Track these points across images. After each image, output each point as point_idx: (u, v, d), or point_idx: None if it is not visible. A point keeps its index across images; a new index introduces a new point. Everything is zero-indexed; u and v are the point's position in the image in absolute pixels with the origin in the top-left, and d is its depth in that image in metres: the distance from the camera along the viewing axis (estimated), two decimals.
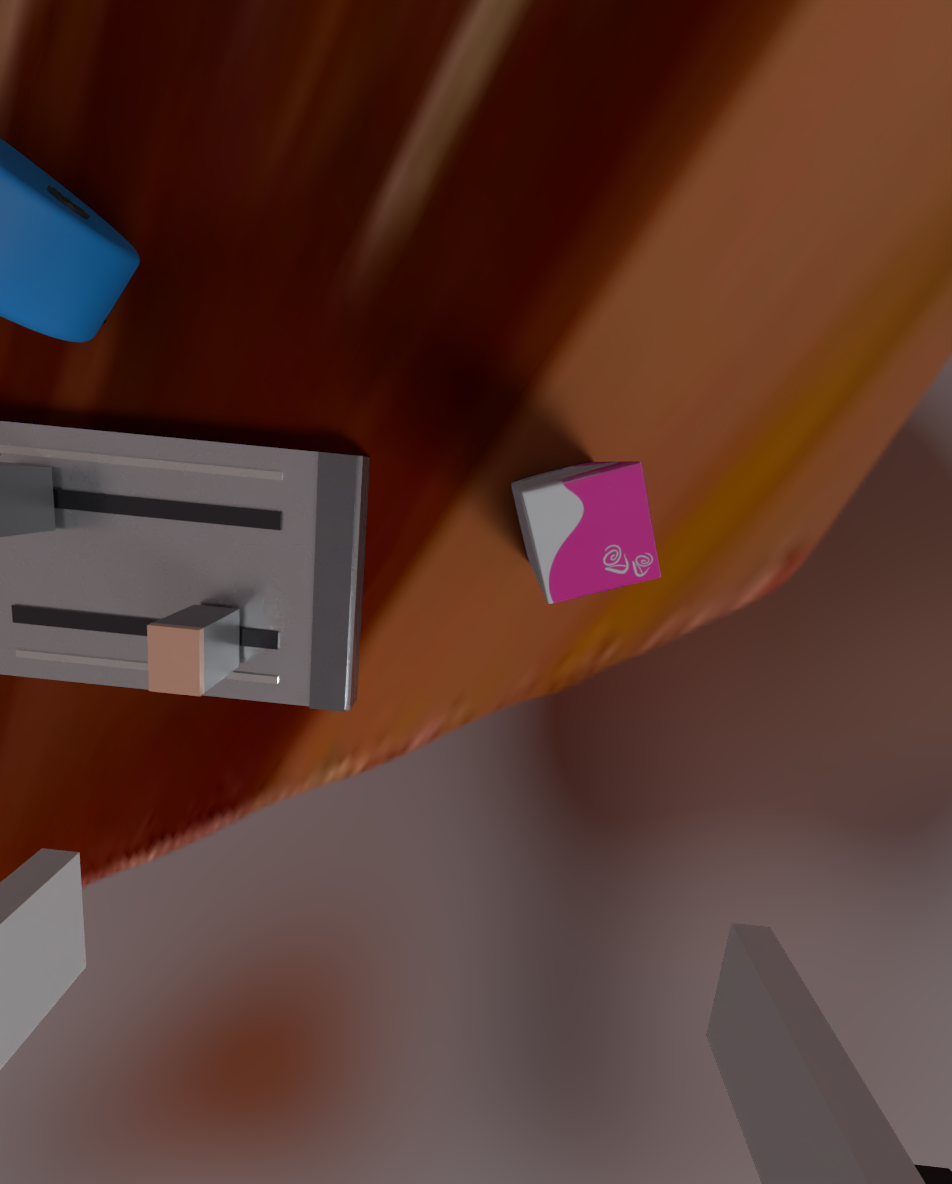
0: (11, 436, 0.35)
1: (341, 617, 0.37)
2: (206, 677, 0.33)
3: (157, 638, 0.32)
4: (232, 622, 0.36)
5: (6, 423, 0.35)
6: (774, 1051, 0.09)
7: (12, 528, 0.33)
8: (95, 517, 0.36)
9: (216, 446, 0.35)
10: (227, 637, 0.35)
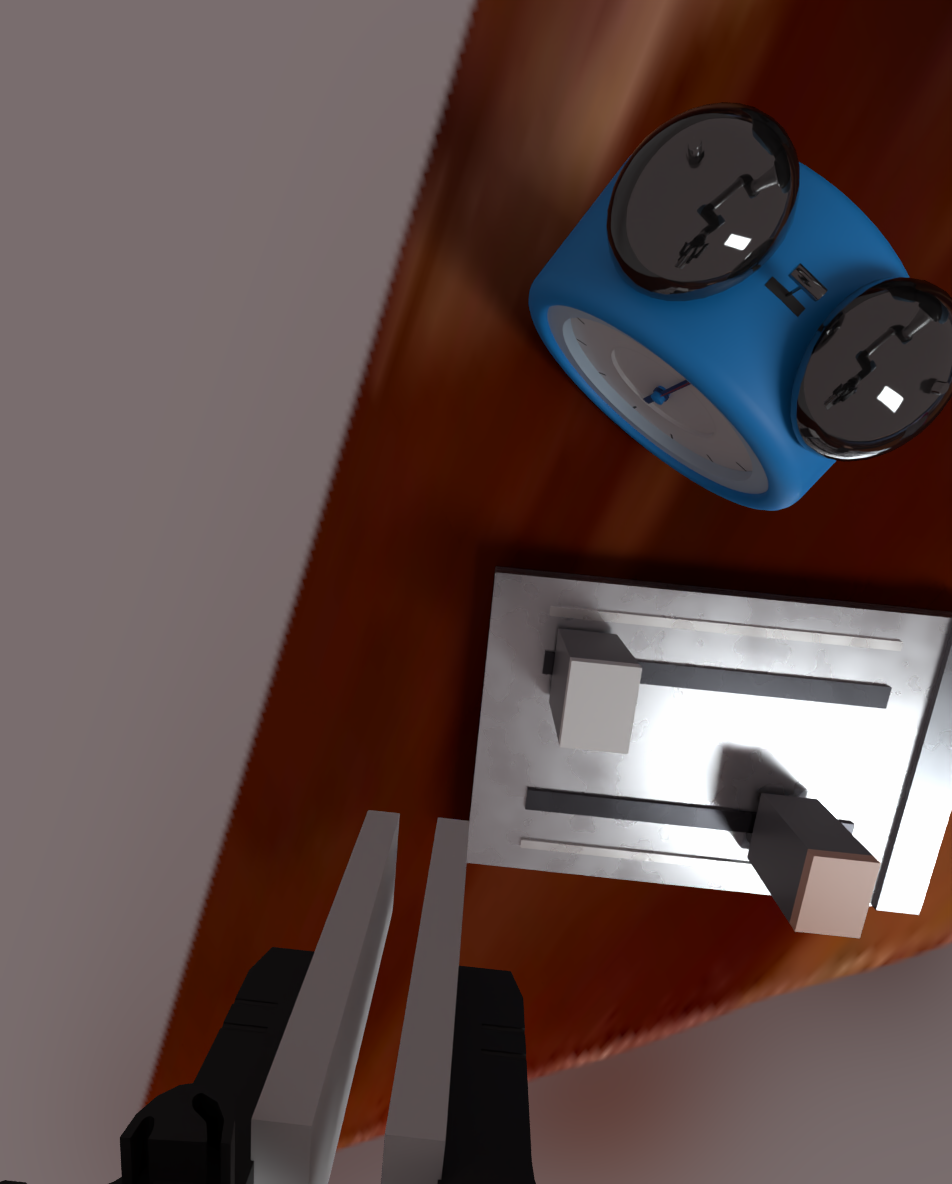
0: (565, 596, 0.29)
1: (940, 809, 0.30)
2: None
3: (823, 871, 0.25)
4: None
5: (562, 581, 0.29)
6: None
7: None
8: (652, 690, 0.30)
9: (823, 610, 0.28)
10: None
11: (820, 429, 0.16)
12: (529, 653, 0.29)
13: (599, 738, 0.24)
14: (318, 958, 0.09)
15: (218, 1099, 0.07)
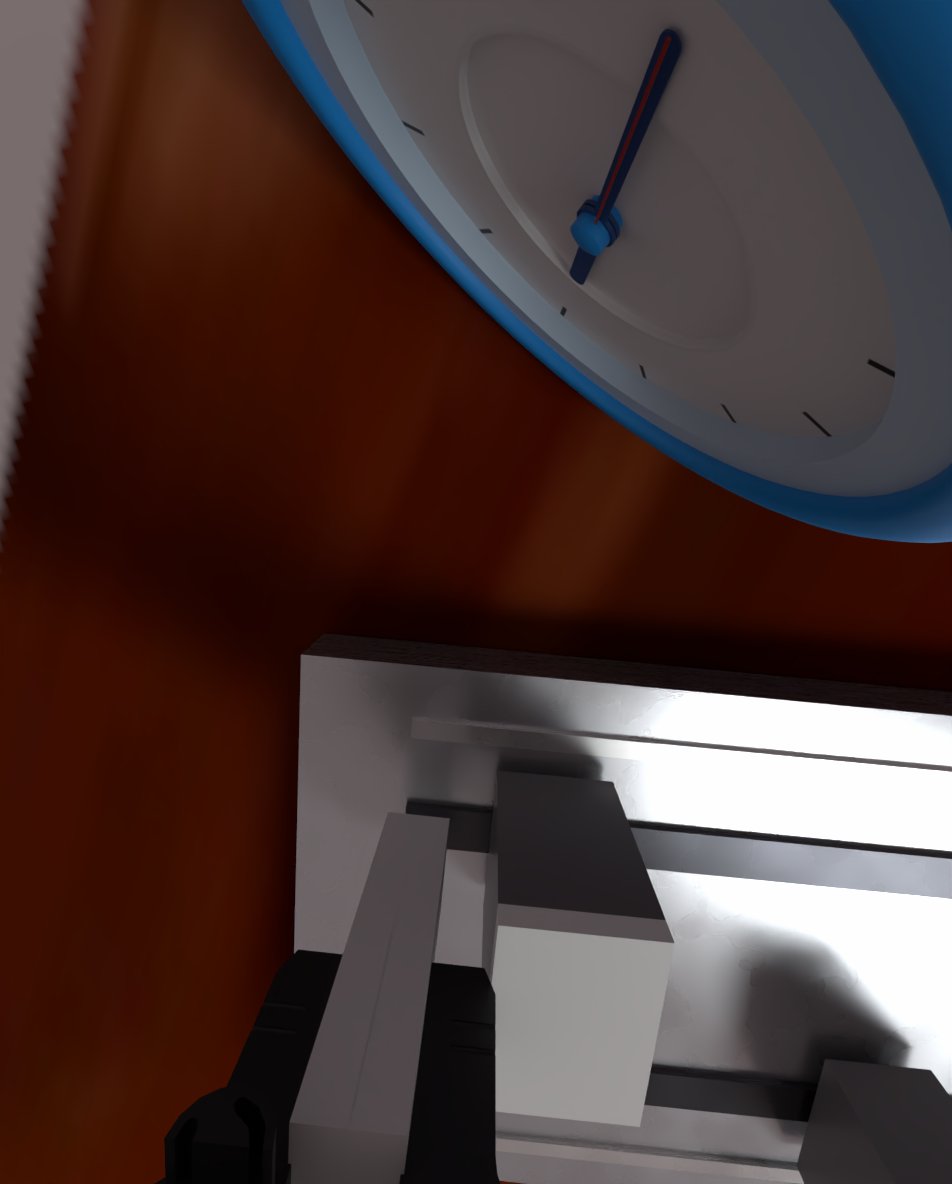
0: (441, 700, 0.15)
1: None
2: None
3: None
4: None
5: (434, 671, 0.14)
6: None
7: None
8: None
9: None
10: None
11: None
12: (377, 806, 0.15)
13: (572, 1093, 0.10)
14: (346, 961, 0.09)
15: (259, 1104, 0.07)
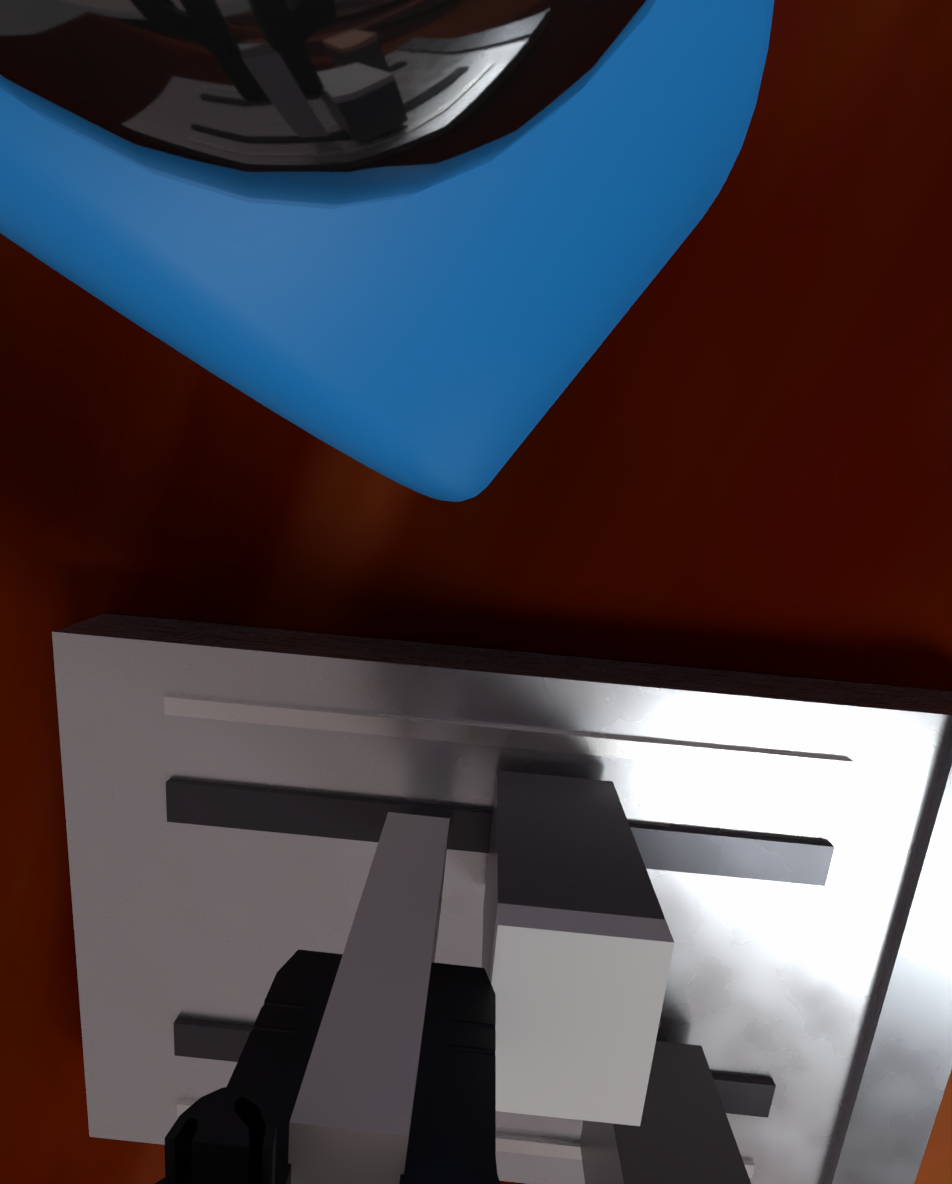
0: (193, 676, 0.15)
1: (933, 1064, 0.16)
2: None
3: None
4: None
5: (183, 648, 0.15)
6: None
7: None
8: None
9: (695, 701, 0.14)
10: None
11: None
12: (141, 783, 0.15)
13: (572, 1092, 0.10)
14: (346, 961, 0.09)
15: (259, 1104, 0.07)
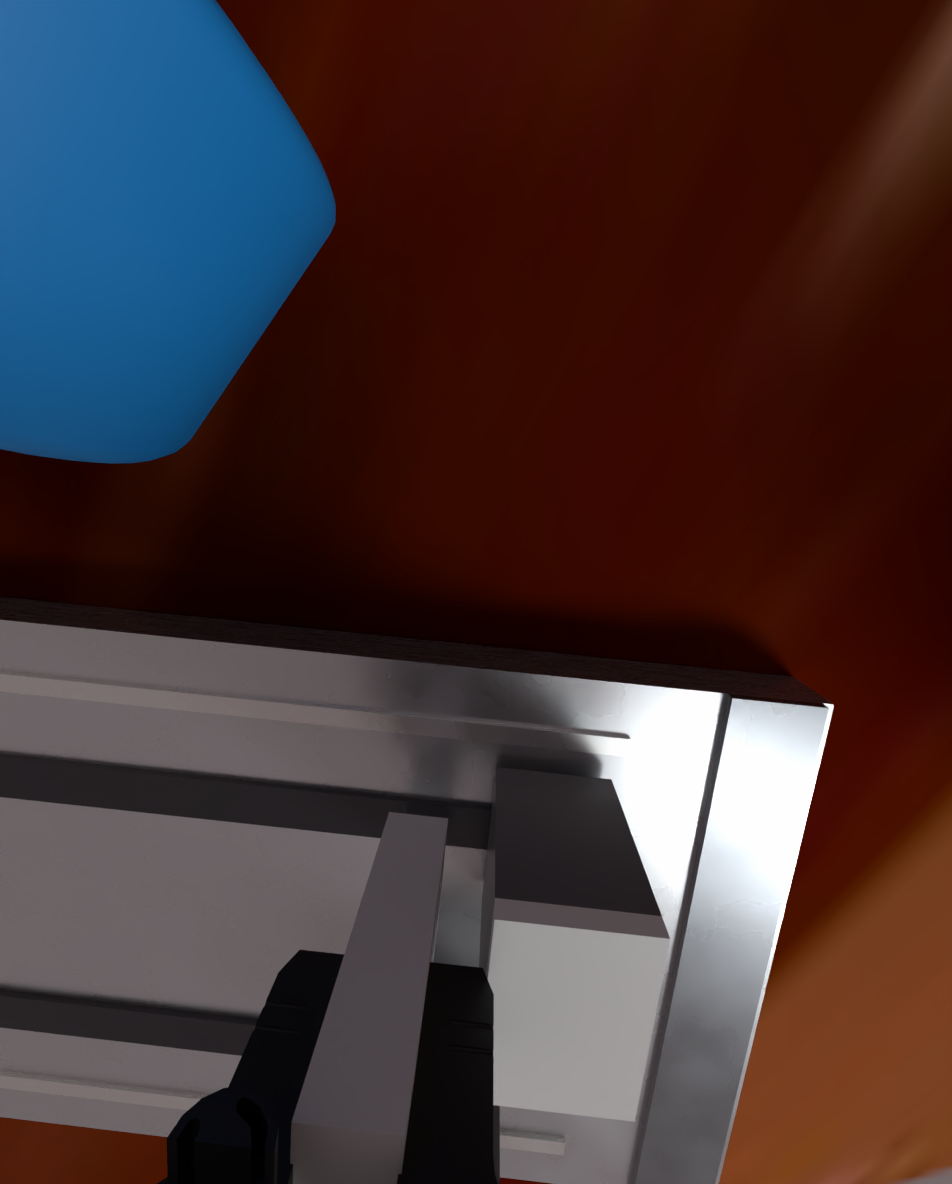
0: None
1: (730, 1042, 0.16)
2: None
3: None
4: None
5: None
6: None
7: None
8: (177, 824, 0.16)
9: (473, 677, 0.15)
10: None
11: None
12: None
13: (566, 1087, 0.10)
14: (348, 961, 0.09)
15: (262, 1104, 0.07)
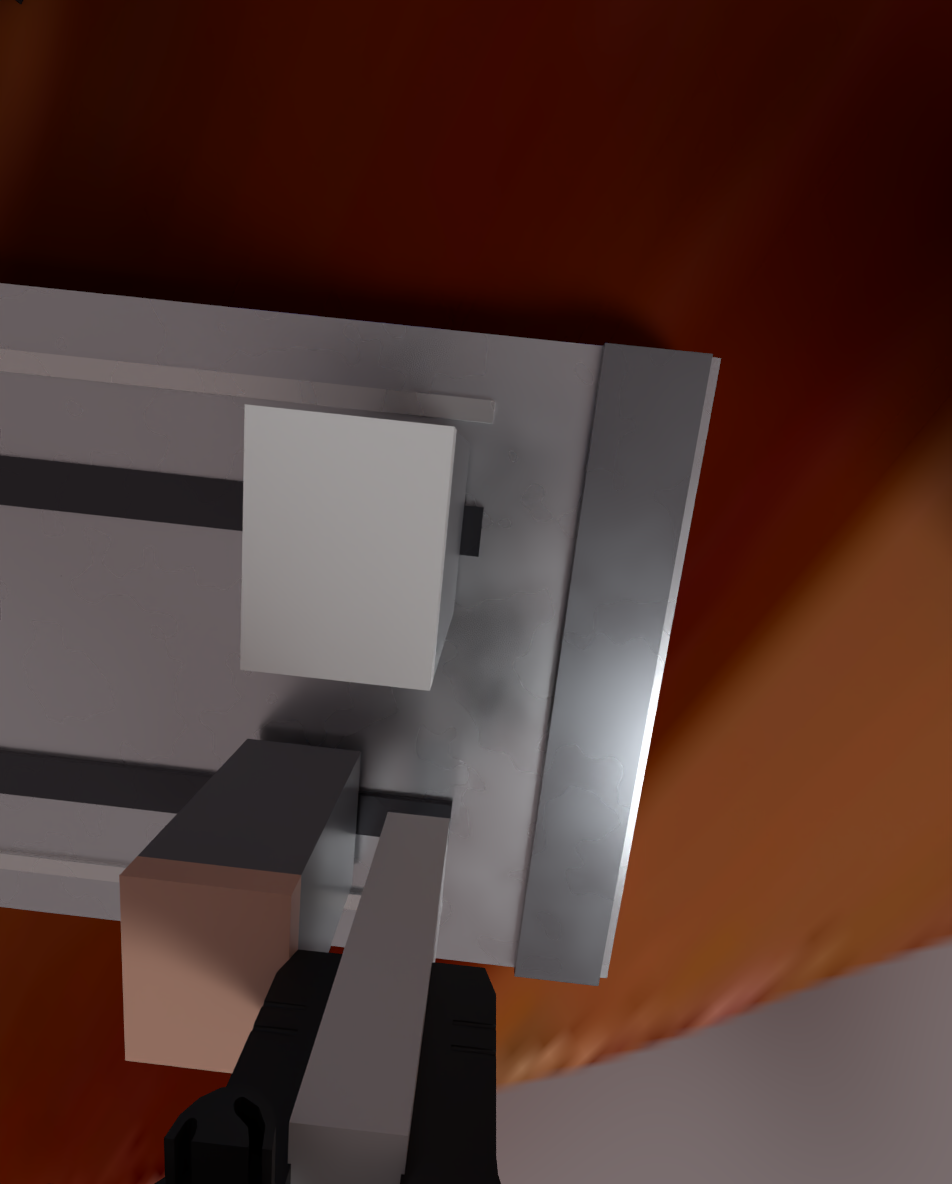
0: None
1: (615, 776, 0.15)
2: None
3: (153, 915, 0.10)
4: (350, 795, 0.14)
5: None
6: None
7: (443, 632, 0.10)
8: None
9: (319, 329, 0.13)
10: (341, 840, 0.13)
11: None
12: None
13: (347, 644, 0.09)
14: (346, 961, 0.09)
15: (259, 1103, 0.07)
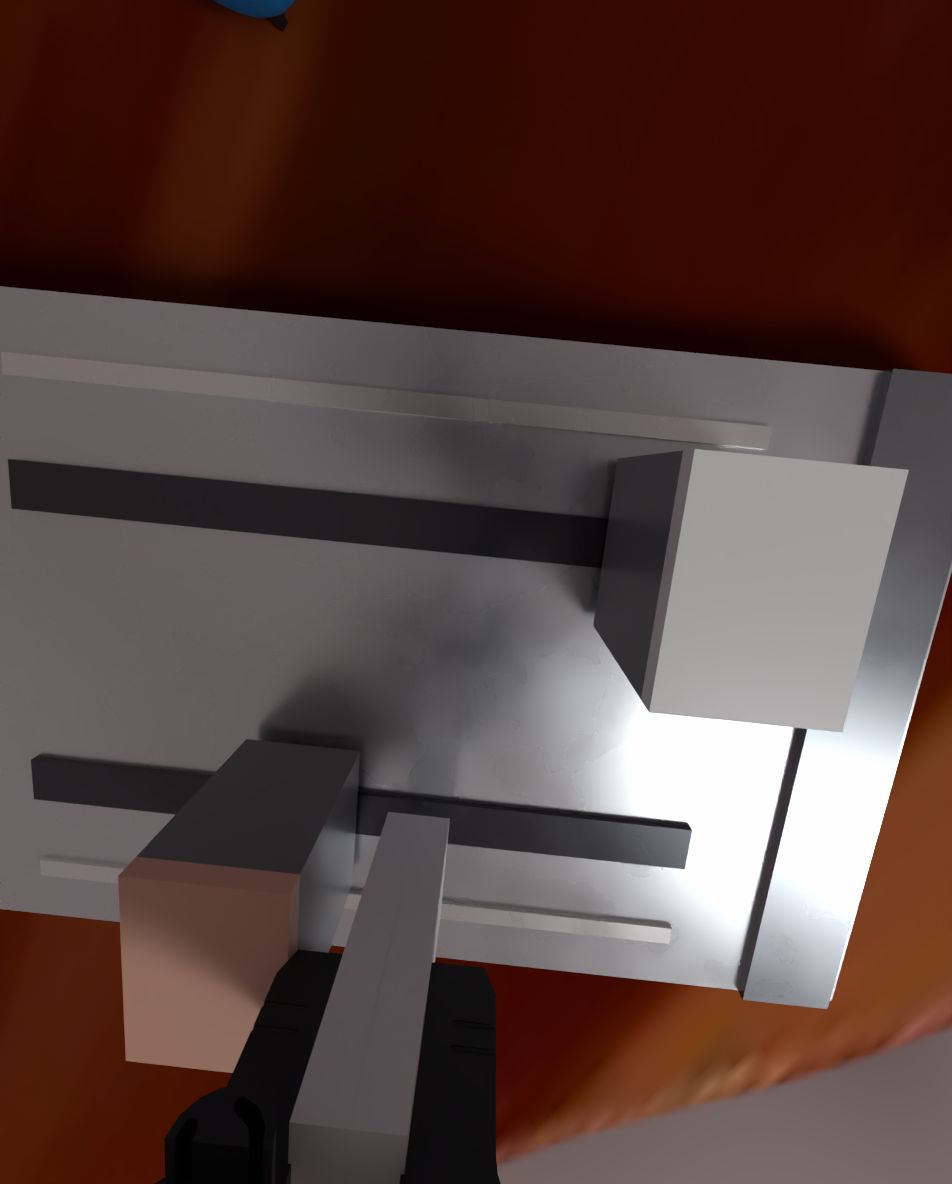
0: (34, 330, 0.13)
1: (864, 799, 0.15)
2: None
3: (152, 916, 0.10)
4: (349, 794, 0.14)
5: (21, 293, 0.13)
6: None
7: None
8: (250, 546, 0.14)
9: (595, 356, 0.13)
10: (340, 840, 0.13)
11: None
12: None
13: (763, 686, 0.09)
14: (346, 961, 0.09)
15: (259, 1104, 0.07)
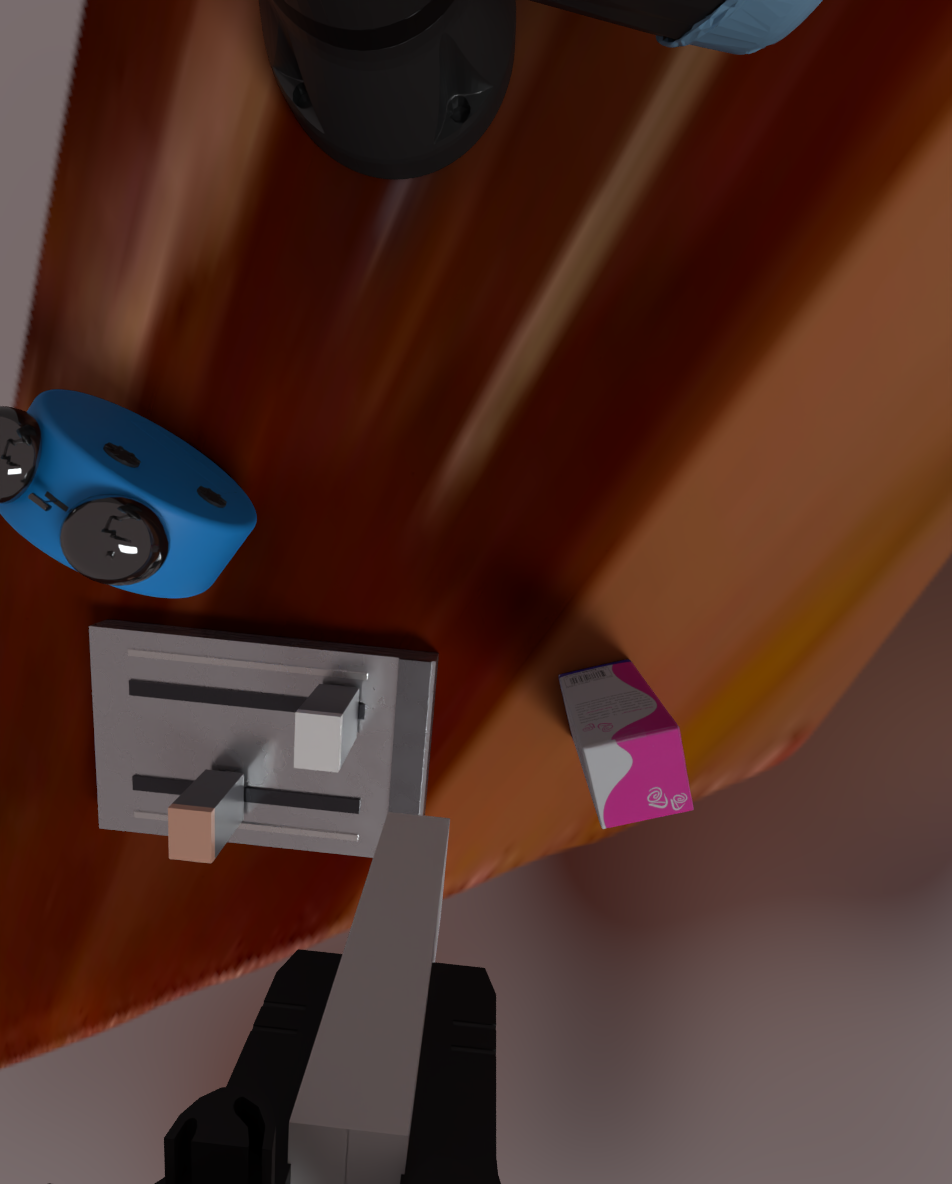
0: (138, 642, 0.42)
1: (414, 789, 0.43)
2: (216, 845, 0.40)
3: (176, 818, 0.38)
4: (238, 788, 0.42)
5: (134, 632, 0.42)
6: None
7: (345, 753, 0.39)
8: (207, 706, 0.43)
9: (312, 652, 0.41)
10: (234, 802, 0.42)
11: (79, 572, 0.29)
12: (120, 681, 0.42)
13: (318, 762, 0.37)
14: (346, 960, 0.09)
15: (259, 1104, 0.07)
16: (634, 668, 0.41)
